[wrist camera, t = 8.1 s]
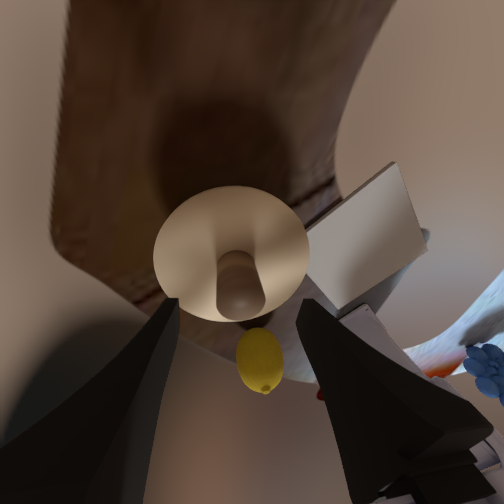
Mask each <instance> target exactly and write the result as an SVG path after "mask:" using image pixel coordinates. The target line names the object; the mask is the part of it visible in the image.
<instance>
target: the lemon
mask: <svg viewBox="0 0 504 504" xmlns="http://www.w3.org/2000/svg"><path fill="white" fill-rule="evenodd" d="M236 360H237V366H238V370H239V373H240V376H241V378H242V380H243V382H244V383H245V384H246V385H247V386H248V387H249V388H250V389H252V390H254V391H256V392H262V393H263V394H268V393H269V392H270V390H272V389H273V388H275V387H276V386H277V384H278V383H279V382H280V380H281V378H282V375H283V369H284V364H283V354H282V350H281V347H280V344H279V342H278V340H277V339H276V337H275V336H274V335H273V334H272V333H271V332H270V331H268V330H266V329H264V328H252V329H249V330H248V331H246V332H245V333H244V334H243V335H242V337H241V338H240V340H239V342H238V345H237V350H236Z"/></svg>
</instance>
